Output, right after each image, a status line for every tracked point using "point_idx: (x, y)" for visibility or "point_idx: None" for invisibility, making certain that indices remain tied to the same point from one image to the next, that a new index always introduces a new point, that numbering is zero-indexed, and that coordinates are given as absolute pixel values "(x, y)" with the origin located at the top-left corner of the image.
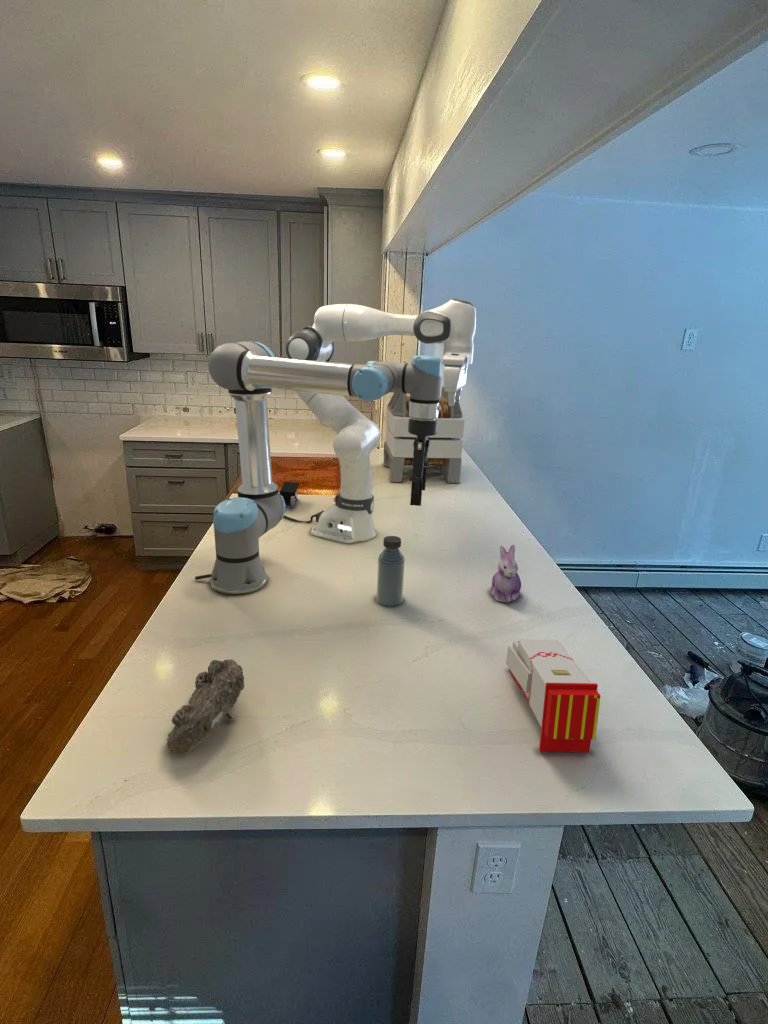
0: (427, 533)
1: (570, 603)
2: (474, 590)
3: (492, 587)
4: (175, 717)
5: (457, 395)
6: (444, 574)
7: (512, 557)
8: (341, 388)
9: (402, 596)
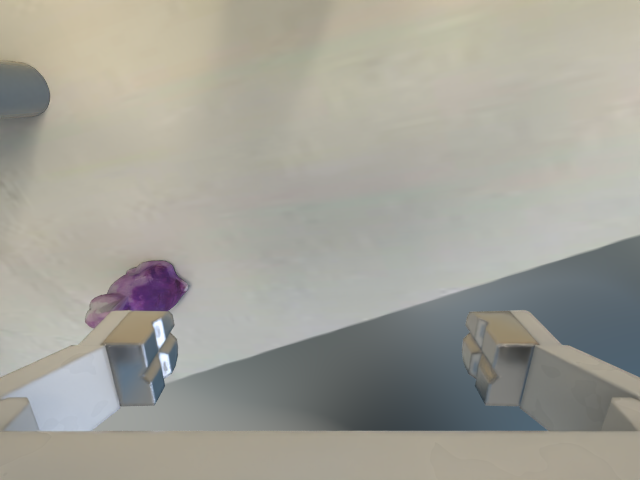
0: (392, 88)
1: (180, 366)
2: (147, 233)
3: (151, 265)
4: None
5: (528, 384)
6: (184, 171)
7: None
8: None
9: (27, 116)
